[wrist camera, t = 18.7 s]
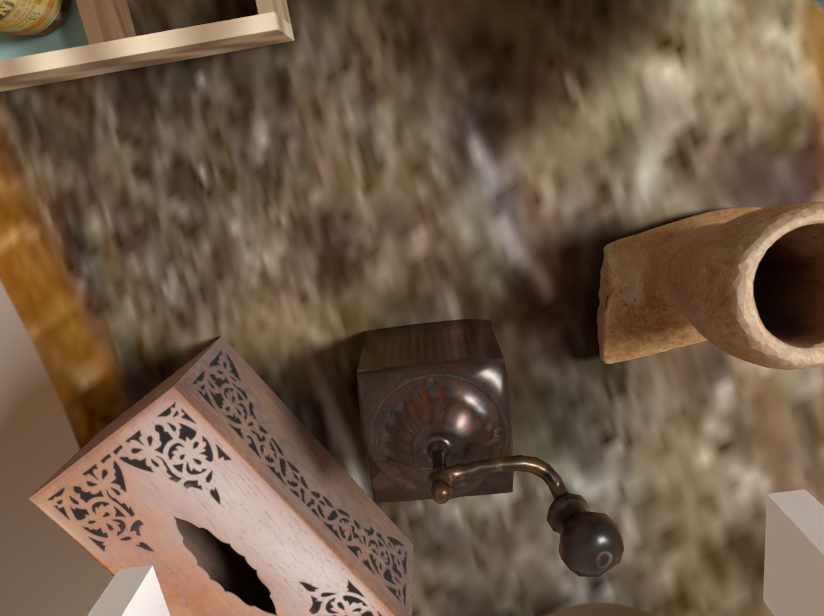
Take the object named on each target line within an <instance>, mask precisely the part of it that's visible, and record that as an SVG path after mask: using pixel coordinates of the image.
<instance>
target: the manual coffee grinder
mask: <svg viewBox="0 0 824 616" xmlns="http://www.w3.org/2000/svg"><path fill="white" fill-rule="evenodd" d="M357 383H358V398H359V406H360V413H361V421H362V428H363V435H364V442H365V449H366V457H367V464H368V470H369V476H370V481H371V487H372V491H373V495H374V501H375V502H394V501H412V500H425V499H433V500H434V501H436V502H437V503H440V504H443V503H446V502H447V501H448V500H449V499H452V498H457V497H463V496H475V495H487V494H498V493H508V492H512V491H513V476H514V471H524V472H530V473H533V474H535V475H537V476H539V477H540V478H542V479H543V480H544V481H545V482H546V484H547V485H548V486H549V488H550V491H551V493H552V495H553V497H554V499H555V500H554V501H553V503H552V504H551V506H550V508H549V510H548V515H547V521H548V523H549V524H550V526H551V528H552V529H553V531H555V532H558V533H559V534H560V545H559V553H560V556H561V559H562V560H563V562H564V563H565V564H566V565H567V567H568V568H569V569H570V570H571V571H572V572H574V573H575V574H577V575H578V576H583V577H598V578H599V577H600V576H602V575H603V574H605V573H606V572H607V571H609V570H610V569H612V568H613V567H614V566H616V565H617V564H618V563H620V560H621V557H622V554H623V551H624V545H623V539H622V536H621V533H620V530H619V527H618V525H617V524H616V523H615V522H614V520H613V519H611V518H610V517H609V516H608V515H606V514H603V513H596V512H589V510H588V506H587V502H586V500H585V499H584V498H583V497H582V496H580V495H576V494H570V493H568V491H567V489H566V487H565V485H564V483H563V481H562V479H561V477H560V476H559V475H558V473H557V472H556V471H555V470H554V469H553V468H552V467H551V466H550V465H549V464H547V463H546V462H544V461H542V460H540V459H539V458H536V457H529V456H522V455H518V456H513V442H512V428H511V401H510V392H509V386H508V381H507V375H506V369H505V362H504V358H503V355H502V352H501V350H500V347H499V345H498V342H497V340H496V337H495V335H494V332H493V329H492V326H491V321H489V320H476V319H463V320H451V321H441V322H431V323H421V324H413V325H406V326H399V327H392V328H385V329H377V330H370V331H367V332H366V337H365V340H364V344H363V348H362V352H361V356H360V361H359V365H358V370H357Z"/></svg>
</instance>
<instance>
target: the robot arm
mask: <svg viewBox="0 0 824 616" xmlns="http://www.w3.org/2000/svg"><path fill="white" fill-rule="evenodd" d="M812 1H813V2H814V3H815V4H816V5H817V6H818V7H819V8H820V9H821V10H822V11H823V13H824V0H812ZM763 601H764V602H765V604H766V605H767V606H768V608H769V609H770V611H771V612H772V613H773V615H774V616H824V507H823V506H822V505H821V504H820V503H819V502H818V501H817V500H816V499H815V498H814V497H813V496H812V495H811V494H810V493H809V492H808V491H807V490H806V489H804V490H796V491H787V492H779V493H770V494H767V506H766V536H765V566H764V596H763ZM87 616H170V614H169V611H168V608H167V605H166V602H165V599H164V596H163V594H162V591H161V588H160V585H159V582H158V579H157V576H156V574H155V571H154V568H153V565H150V566H141V567H133V568H124V569H119V570H118V572H117V573H116V574H115V576H114V578H113V579H112V580H111V582H110V583H109V585H108V586H107V588H106V589H105V591H104V592H103V594H102V595H101V596H100V598H99V599H98V601H97V602H96V604H95V605H94V607H93V608H92V610H91V611H90V613H89V614H88V615H87Z"/></svg>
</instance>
